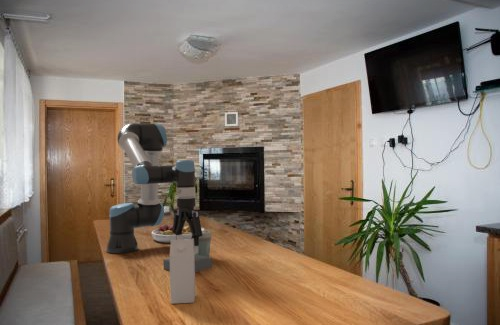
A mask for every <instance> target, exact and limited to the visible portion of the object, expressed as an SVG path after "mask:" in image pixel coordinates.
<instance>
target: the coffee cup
mask: <svg viewBox="0 0 500 325" xmlns="http://www.w3.org/2000/svg"><path fill="white" fill-rule="evenodd" d="M195 235H196V234H195ZM211 239H212V233H211V231H208V230H205V231H202V236H200V237H199V246H198V253H197V255H202V256H206V257H210V252H211V251H210V250H211V241H212V240H211Z"/></svg>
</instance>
